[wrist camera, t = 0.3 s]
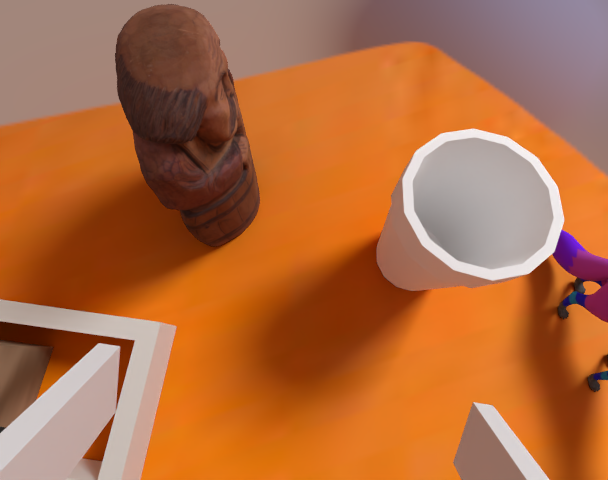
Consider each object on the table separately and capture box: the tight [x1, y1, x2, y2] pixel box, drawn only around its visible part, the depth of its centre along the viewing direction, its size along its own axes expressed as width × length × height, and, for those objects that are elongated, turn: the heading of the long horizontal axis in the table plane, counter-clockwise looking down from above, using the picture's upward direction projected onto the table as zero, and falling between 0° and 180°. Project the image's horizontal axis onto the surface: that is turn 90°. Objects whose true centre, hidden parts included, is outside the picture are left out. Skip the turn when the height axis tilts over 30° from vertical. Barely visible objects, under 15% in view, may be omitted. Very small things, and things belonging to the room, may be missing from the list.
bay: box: [0, 300, 177, 480], centre depth 27 cm, size 12×22×4 cm, turn 82°
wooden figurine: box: [115, 4, 260, 246], centre depth 26 cm, size 12×6×18 cm, turn 9°
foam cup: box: [376, 129, 564, 291], centre depth 27 cm, size 10×9×13 cm
